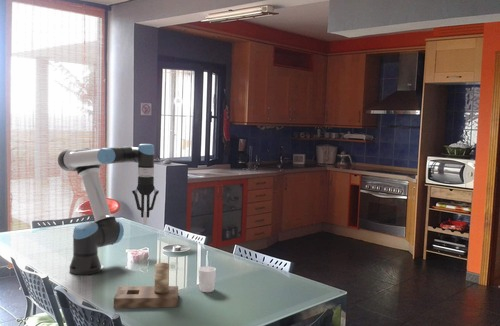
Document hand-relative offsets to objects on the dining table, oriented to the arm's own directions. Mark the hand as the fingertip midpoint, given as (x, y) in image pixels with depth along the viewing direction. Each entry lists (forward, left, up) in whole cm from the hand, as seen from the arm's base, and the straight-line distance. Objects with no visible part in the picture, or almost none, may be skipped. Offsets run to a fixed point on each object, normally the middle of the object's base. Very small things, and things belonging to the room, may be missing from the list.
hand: (145, 223), depth 242 cm
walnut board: (+4, -32, -26) cm, 42 cm away
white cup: (+30, -19, -27) cm, 44 cm away
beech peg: (+10, -32, -26) cm, 43 cm away
